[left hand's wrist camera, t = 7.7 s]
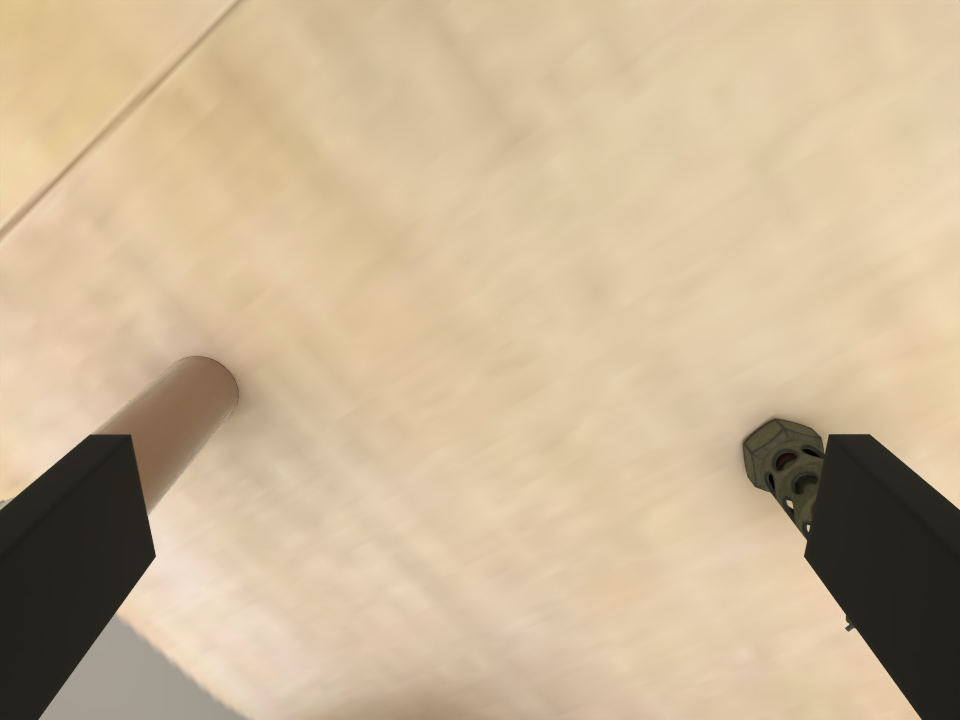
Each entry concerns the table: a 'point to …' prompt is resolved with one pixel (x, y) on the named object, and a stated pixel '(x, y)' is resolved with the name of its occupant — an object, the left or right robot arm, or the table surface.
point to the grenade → (787, 468)
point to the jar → (174, 421)
